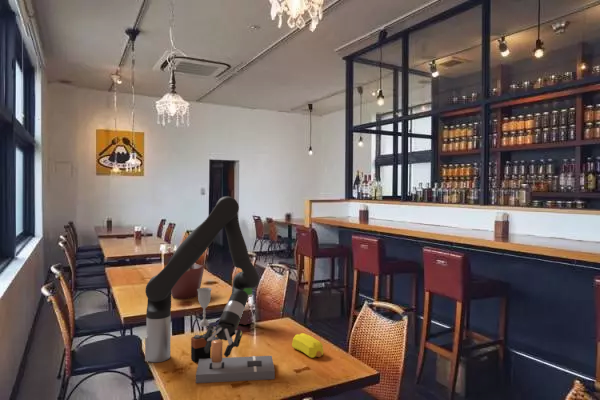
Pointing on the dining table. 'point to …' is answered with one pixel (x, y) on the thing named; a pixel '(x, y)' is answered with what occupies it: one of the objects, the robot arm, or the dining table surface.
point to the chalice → (204, 303)
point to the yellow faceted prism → (307, 345)
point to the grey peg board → (236, 369)
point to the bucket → (188, 283)
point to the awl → (216, 354)
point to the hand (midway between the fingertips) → (215, 354)
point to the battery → (199, 348)
